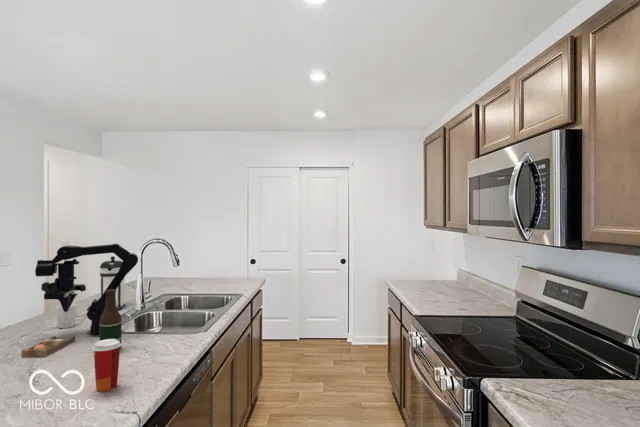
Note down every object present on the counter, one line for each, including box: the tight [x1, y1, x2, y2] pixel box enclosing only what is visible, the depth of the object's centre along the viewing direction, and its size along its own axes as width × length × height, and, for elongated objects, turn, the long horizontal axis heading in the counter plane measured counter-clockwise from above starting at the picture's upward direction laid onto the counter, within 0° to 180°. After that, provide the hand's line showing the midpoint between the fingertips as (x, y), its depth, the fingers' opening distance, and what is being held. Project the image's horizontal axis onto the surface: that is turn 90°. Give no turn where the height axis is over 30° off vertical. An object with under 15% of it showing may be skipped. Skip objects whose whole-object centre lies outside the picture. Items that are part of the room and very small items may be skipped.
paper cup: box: [91, 339, 122, 393], centre depth 115 cm, size 8×8×14 cm
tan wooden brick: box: [42, 338, 64, 349], centre depth 147 cm, size 6×2×3 cm, turn 94°
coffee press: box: [99, 255, 126, 312], centre depth 213 cm, size 17×16×30 cm
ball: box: [34, 344, 46, 349], centre depth 141 cm, size 4×4×4 cm
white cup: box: [56, 303, 77, 329], centre depth 178 cm, size 8×8×10 cm
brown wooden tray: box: [20, 336, 76, 358], centre depth 146 cm, size 9×18×4 cm, turn 1°
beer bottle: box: [98, 289, 123, 350], centre depth 147 cm, size 8×8×24 cm
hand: (65, 311), depth 159 cm, fingers closed
